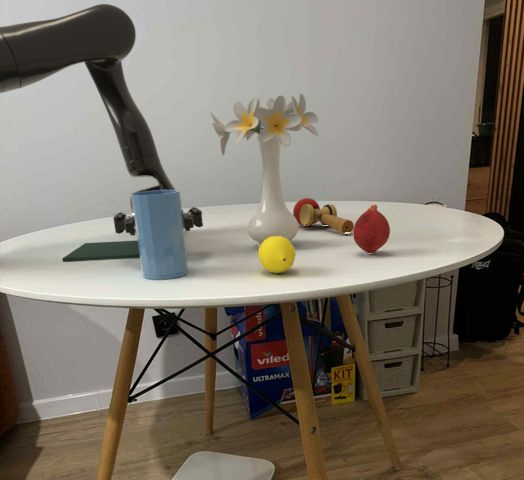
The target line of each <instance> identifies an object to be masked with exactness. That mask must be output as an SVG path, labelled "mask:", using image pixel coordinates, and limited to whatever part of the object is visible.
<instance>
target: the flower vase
mask: <svg viewBox="0 0 524 480" xmlns="http://www.w3.org/2000/svg"><path fill="white" fill-rule="evenodd" d="M260 102H261V101H260V99H259V98H258V97H257V96H253V97H252V98H251V100H250V101H249V103H248V105H247V108H246V106H245V105H244V104H243V102H242V101H240V100H235V102H233V107H232V108H233V113H234V115H235V117H236V118H237V119H233V120H230V121H229V122H227V123H226V124H224V123H222V122H221V120H219V119H218V118H217V117H216V115H214V113H212V111H211V110H209V114H210V116H211V118H212V120H213V122H212V126H213V129H214V131H215V133H216V135H217V136H218V138H220V141H219V142H220V143H219V144H220V150H221V151H220V152H221V154H222V156H223V157H225V154H226V153H225V152H226V148H227V144H228V141H229V139H230V135H231V133H235V132H236V134H235V136H234V143H235V144H240V143H241V142H242V140H243V139H244V138H245V139H246V141H249V140H250V139H251V138H252V137H253V136H254V135H255V134H257V135H256V140H257V141H258V145H259V149H260V155H261V164H262V169H261V170H262V189H261V190H262V191H261V199H260V203H259V205H258V208H257V210H256V212H255V213H254V214H253V215H252V216H251V218H250V219H249V221H248V224H247V233H248V235H249V237H250V238H251V239H252V240H253V241H254V242H257V243H256V247H257V248H258V249H259V248H260V246H261V244H262V243H263V241H264V240H266V239H267V238H269V237H272V236H282V237H284V238H286V239H288V240H289V241H290V242H291V241H292V240H293V239H294V238H295V237H296V236H297V235H298V232H299V231H300V224H298V222H297V220H296V218H295V217H294V215H293V212H291V211H290V210H289V209H288V206H287V205H286V202H285V200H284V197H283V192H282V187H281V186H282V185H281V184H282V183H281V169H280V152H281V145H282V146H284V147H289V146H291V144H292V136H291V134H290V132H298V131H300V130H301V129H302V128H304V129H305V130H307V131H309V132H310V133H311V134H313V136H315V137H317V138H318V137H319V132H318V130H317V129H316V127H314V125H312V124H316V123H318V122H319V117H318V115H317V114H316V113H314V112H312V111H306V110H307V102H306V98H305V96H304V94H302V93H299V97H298V101H297V99H296V98H295V97H294V96H293V95H292V96H291V100H289V101H286V98H285V97H284V96H283V95H281V94H280V95H278V96H277V97H276V99H274V98H272V97H269V98H267V100H266V107H267V108H266V107H261V106H260V104H261V103H260ZM289 131H290V132H289Z"/></svg>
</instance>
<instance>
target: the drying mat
mask: <svg viewBox="0 0 524 480" xmlns="http://www.w3.org/2000/svg"><path fill="white" fill-rule="evenodd" d="M119 259H140V253H139V246H138V239H137V240H121V241H120V240H119V241H118V240H117V241H99V242H85V243H83V244H81V245H79V247H77V248H76V249H74V250H72V251H71V252H70V253H68V254H66V255H65V256H63V257H62V262H79V261H81V262H83V261H98V260H100V261H101V260H102V261H103V260H119Z"/></svg>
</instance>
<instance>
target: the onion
mask: <svg viewBox="0 0 524 480" xmlns="http://www.w3.org/2000/svg"><path fill="white" fill-rule="evenodd" d="M378 207H379V206H378V205H377V204H375V203H373V204H371V205H370V206H369V207H368V209H367V210H366V211H364V212H363V213H362V214H360V216H359V217H357V220H356V221H355V223H354V228H353V231H352V235H353V240H354V243H355V244H356V245H357V246H358V247H359V248H360V249H361V250H362V251H364V252H365V253H366V254H368V253H374V254H376V252H377V251H378V250H380V249H381V248H382V247H384V245H386V244H387V242H388V240H389V238H390V235H391V227H390V223H389V221H388V220H387V218H386V217H385V215H384V214H383V213H381V212H380V211H378Z"/></svg>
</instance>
